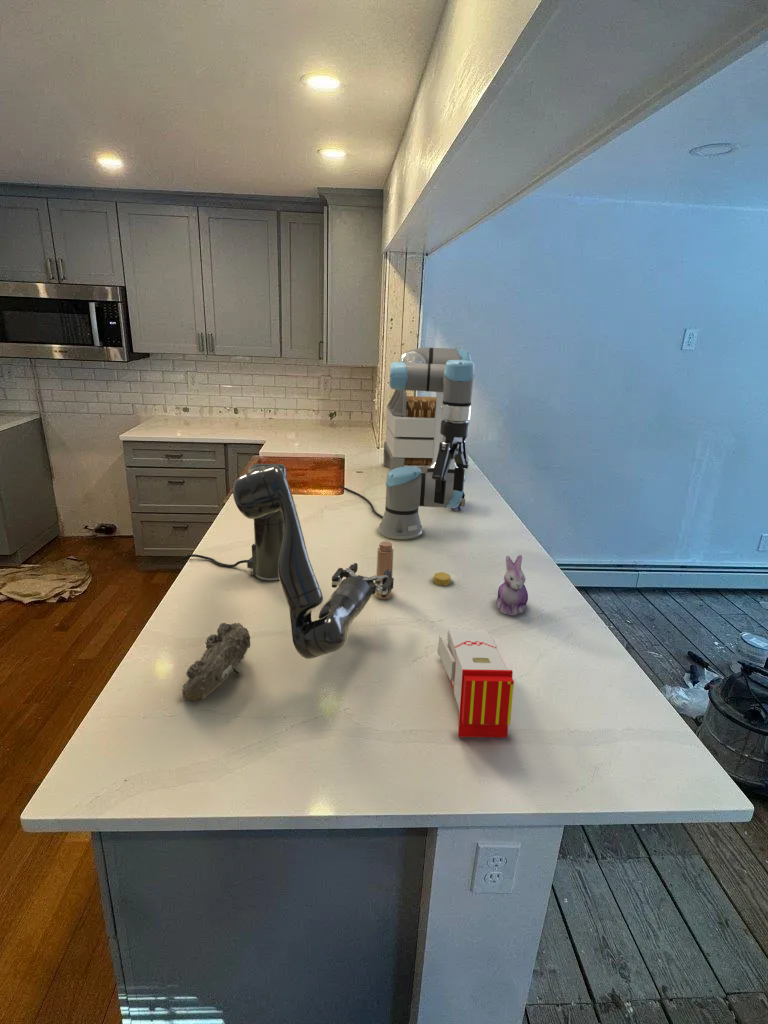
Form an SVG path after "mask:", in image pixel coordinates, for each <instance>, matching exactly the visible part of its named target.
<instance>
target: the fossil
mask: <svg viewBox="0 0 768 1024" xmlns="http://www.w3.org/2000/svg"><path fill="white" fill-rule="evenodd" d="M216 632H217V633H216V634H215V633H214V634H210V635H209V636H208V637H207V638H206V640H205V641H206V642H205V645H206V646H205V648H206V649H205V651H204V653H202V656H201V658H200V660H196V661H194V663H193V664H191V665H190V666H189V667H188V668H187V671H186V673H185V674H186V676H187V678H188V679H187V681H186V682H185V683H184V684H183V685H182V689H181V690H182V698H183V700H184V699H185V700H186V699H187V700H188V701H191V702H192V701H197V700H201V699H202V700H203V699H204V700H205V698H207V697H208V696H209V695H210V694H211V693H212V692H214V691H215V690H216V689H217V687H219V686H220V685H221V684H222V683H223V682H224V681H225V680H227V678H228V676H229V674H230V673H232V672H234V673H235V674H236V675H237V676H239V675H240V672H239V671H238V670H237V669H236V666H237V664H238V663H241V662H242V661H243V659H244V658H245V655H246V654H247V652H248V649H250V648H251V635H250V631H249V630H248V628H247V627H244V626H243V624H242V623H240V622H234V623H231V624H230V623H226V622H222V623H220V624H219V625H218V628H217V631H216Z"/></svg>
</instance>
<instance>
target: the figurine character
mask: <svg viewBox="0 0 768 1024" xmlns="http://www.w3.org/2000/svg"><path fill="white" fill-rule="evenodd" d="M465 496H466V494H465V492H464V490H463V495H462V499H461V502H460V504H459V506H458V507H456V508H455V509H458V511H461V510H462V509H461V508H465V505H466V497H465ZM450 509H451V511H454V508H450Z"/></svg>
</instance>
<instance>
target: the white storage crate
mask: <svg viewBox="0 0 768 1024" xmlns="http://www.w3.org/2000/svg"><path fill="white" fill-rule="evenodd" d="M407 394H408V393H407V390H403V391H401V390H395V389H394V392H393V394H392V395H391V398H390V400H389V402H388V404H387V405H386V413H385V414H386V415H385V423H386V428H385V438H384V442H383V466H384V467H388V468H389V472H390V471H391V470H393V469H395V468H399V467H405V466H406V467H407V466H412V467H417V466H418V467H429V466H430V465H431V464H432V459H433V444H434V428H435V412H436V396H415V395H414V396H413V395H412V396H411V395H407Z"/></svg>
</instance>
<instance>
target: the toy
mask: <svg viewBox="0 0 768 1024" xmlns="http://www.w3.org/2000/svg"><path fill="white" fill-rule="evenodd" d="M446 640H447V643H446V641H445V639H444V636H443V635H442V634H439V637H438V646H437V656H438V657H439V659H440V661H441V663H442V666H443V668H444V670H445V672H446V674H447V677H448V679H449V681H450V684H451V687H452V690H453V693H454V697H455V701H456V705H457V708H458V711H459V714H458V715H459V716H458V730H457V731H458V732H457V737H458V738H508V731H509V726H510V725H511V717H512V707H513V697H514V696H513V695H514V684H515V680H514V679H513V673H514V671H513V670H512V669H508V667H507V665H506V662H505V661H504V659H503V658H502V655H501V653H500V651H499V649H498V647H497V643H496V639H495V637H494V635H493V634H491V632H490V631H489V629H467V628H466V629H465V628H463V629H461V628H460V629H459V628H448V630H447V639H446Z"/></svg>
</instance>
